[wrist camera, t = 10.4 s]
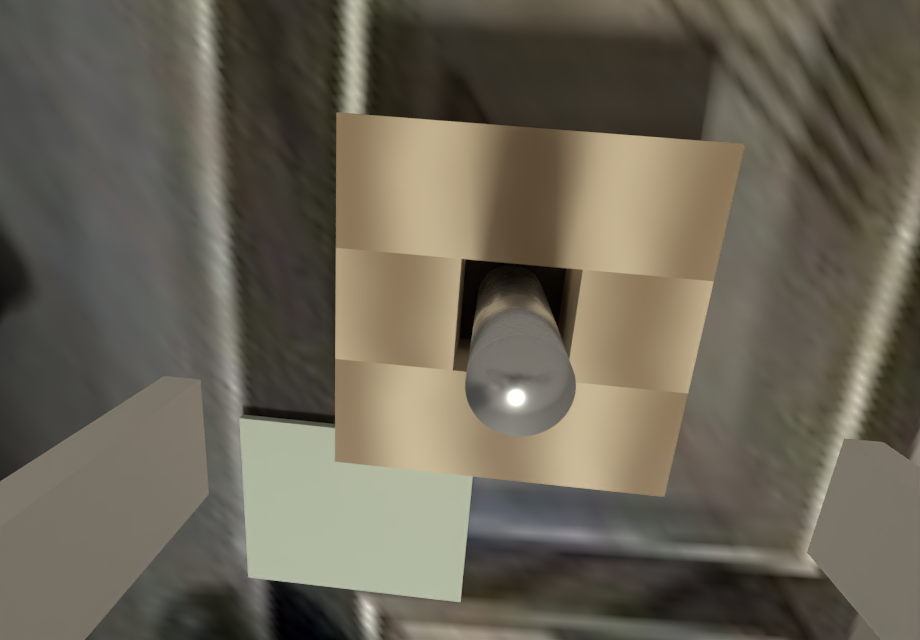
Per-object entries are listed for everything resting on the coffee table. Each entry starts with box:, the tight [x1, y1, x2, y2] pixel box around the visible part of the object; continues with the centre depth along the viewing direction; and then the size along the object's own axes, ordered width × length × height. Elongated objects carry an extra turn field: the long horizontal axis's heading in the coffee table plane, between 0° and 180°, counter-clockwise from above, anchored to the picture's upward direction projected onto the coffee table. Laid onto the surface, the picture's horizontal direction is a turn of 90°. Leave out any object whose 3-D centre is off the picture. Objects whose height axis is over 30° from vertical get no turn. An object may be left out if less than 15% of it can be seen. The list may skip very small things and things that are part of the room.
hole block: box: [335, 113, 745, 497], centre depth 22 cm, size 14×14×4 cm
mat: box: [239, 415, 473, 602], centre depth 27 cm, size 12×10×1 cm
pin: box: [465, 265, 576, 436], centre depth 19 cm, size 3×3×10 cm
